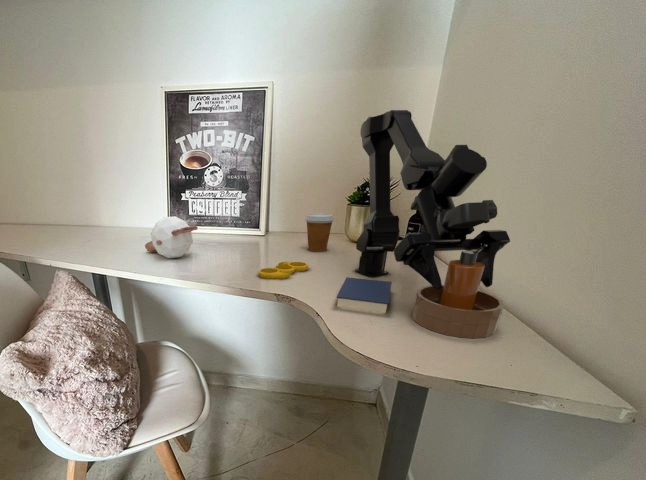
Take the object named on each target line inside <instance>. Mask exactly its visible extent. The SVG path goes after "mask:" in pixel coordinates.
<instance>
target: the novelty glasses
mask: <svg viewBox="0 0 646 480" xmlns="http://www.w3.org/2000/svg"><path fill="white" fill-rule="evenodd" d="M308 269H309V264H308V263H306V262H304V261H281V262H279V263H277V265H275V266H274V267H264V268H261V269H259V270H258V276H259V277H260V278H263V279H271V280H282V279H288V278H290V277H291V275H293V274H294V273H295V272H305V271H307V270H308Z"/></svg>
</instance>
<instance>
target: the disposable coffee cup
mask: <svg viewBox="0 0 646 480" xmlns="http://www.w3.org/2000/svg"><path fill="white" fill-rule="evenodd" d="M305 222H306V233H307V234H306V235H307V249H308V251H310V252H314V253H316V252H318V253H319V252H326V251H327V250H328V243H329V240H330V234H331V230H332V225H333V222H334V216H333V214H332V213H308V214H306V218H305Z"/></svg>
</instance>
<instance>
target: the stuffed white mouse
mask: <svg viewBox="0 0 646 480" xmlns="http://www.w3.org/2000/svg"><path fill="white" fill-rule="evenodd" d="M197 230H198V226H197V225H189V223H188V222H187V221H186V220H183V219H182V218H179V217H178V216H163V217H162V218H160V219H159V220H158V221H157V222H156V223H155V224H154V226H153V228H152V229H151V232H150V236H151V241H148V242H146V243H145V244H144V248H145V249H146V251H147V252H150V253H156V252H157V253H158V254H159V255H161V256H163V257H165V258H166V259H178V258H182V257H183V256H184V255H185V254H186V253H188V252H189V250H190V249H191V247H192V245H193V243H194V240H193V234H192V232H193V231H197Z"/></svg>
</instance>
